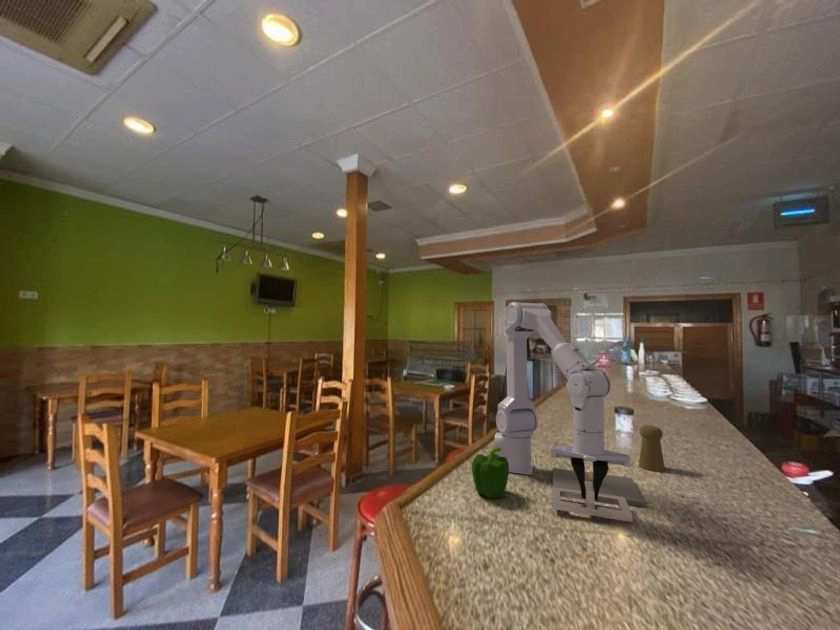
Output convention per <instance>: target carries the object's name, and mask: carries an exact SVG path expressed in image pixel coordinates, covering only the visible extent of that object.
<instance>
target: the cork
mask: <svg viewBox="0 0 840 630" xmlns="http://www.w3.org/2000/svg"><path fill="white" fill-rule="evenodd" d="M639 433H640V436H641V437H642V438H641V444H640V452H639V453H640V454H639V460H638V461H639V462H638V467H639V468H641V469H643V470H646V471H650V472H657V473H661V472H666V468H665V467H666V466H665V461H664V460H665V459H664V456H663V449H662V443H661V439H662V438H663V430H662V429H661V428H660V427H658V426H654V425H648V424H647V425H642V426H641V427H640V428H639Z"/></svg>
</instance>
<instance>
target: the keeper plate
mask: <svg viewBox="0 0 840 630" xmlns="http://www.w3.org/2000/svg"><path fill="white" fill-rule="evenodd" d="M585 481H590V482H592V484H593V471H585ZM553 487H557V488H564V489H571V490H578V491H581V488H580V484H579V481H578V479H577V476H576V474H575V471H574V469H573V470H572V469H564V468H558V467H552V488H553ZM598 494H605V495H612V496H619V497H625V499H626V502H627V504H628V506H630V507H631V506H632V507H638V508H643V509H644V508H646V502H645V500H644V498H643V496H642V494H641V493H640V490H639V488H638V487H637V485H636V483H635V481H634V480H633V477H630V476H628V477H627V476H620V475H612V474H606V476H605V478H604V479H603V482H602V484H601V486H600V489H599V493H598Z"/></svg>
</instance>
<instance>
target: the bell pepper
mask: <svg viewBox="0 0 840 630" xmlns="http://www.w3.org/2000/svg"><path fill="white" fill-rule="evenodd" d="M500 450H501V448H499V447H495V448H494V447H492V449H490V451H489V454H487V455H484V454H481V453H477V454H476V455H475V457H474V458H473V460H472V462H471V473H472V478H473V483H474V486H475V491H476V492H477V493H478V494H479V495H483V494H484V495H483V496H485V497H486V498H488V499H499V498H501V497H502V496H503V494H504V493H505V490H506V489H507V484H508V480H509V476H510V475H509V473H510V472H509V465H508V461H507V458H506V457H500V456H499V455H497V454H494V453H495V452H496V451H498V452H499V451H500Z"/></svg>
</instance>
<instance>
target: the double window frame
mask: <svg viewBox="0 0 840 630" xmlns="http://www.w3.org/2000/svg"><path fill="white" fill-rule="evenodd" d="M585 491H586V499H585V498H582V496H581V491H578V490H571V489H564V488H557V487H553V486H552V497H551V498H552V499H551V500H552V503H551V505H552V510H557V511H563V512H570V513H575V514H582V515H586V516H587V515H588V516H595V517H599V518H604V519H605V518H606V519H612V520H618V521H623V522H630V523H633V522H634V521H633V514H632V511H631V509H630V505H628V504H627V502H626V499H625V497H619V496H612V495H605V494H598V499H597V500H595V498H594V488H593V484H592V482H590V481H585ZM561 498H569V499H574V500H580V501H581V500H582V501H584V503H578V502H572V501H571V502H570V501H564V500H561ZM595 503H601V504H608V505H613V506H617V508H618V509H616V508H615V509H614V508H609V507H604V506H603V507H602V506H597V505H595Z"/></svg>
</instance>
